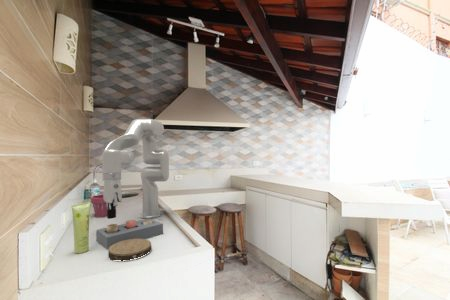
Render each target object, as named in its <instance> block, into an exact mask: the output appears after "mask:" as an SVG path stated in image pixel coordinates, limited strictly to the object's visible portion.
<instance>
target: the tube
mask: <svg viewBox="0 0 450 300" xmlns="http://www.w3.org/2000/svg"><path fill="white" fill-rule="evenodd" d="M71 213H72V224H73V243H74V244H73V245H74V250H73V251H74V253H75V254H83V253H86V252H88V251H89V249H90V247H89V246H90V244H89V241H90V239H89V237H90V235H89V234H90V215H91V214H90V213H91V201H88V202H82V203H78V204H73V205H71Z"/></svg>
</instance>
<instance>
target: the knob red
mask: <svg viewBox="0 0 450 300" xmlns="http://www.w3.org/2000/svg"><path fill="white" fill-rule="evenodd" d="M136 221H137V220H135V219H134V220H133V219H132V220H126V221H125V224H126V229H131V228H135V227H136Z"/></svg>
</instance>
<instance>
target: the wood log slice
mask: <svg viewBox="0 0 450 300" xmlns="http://www.w3.org/2000/svg"><path fill="white" fill-rule="evenodd" d="M107 251H108V252H107V253H108V254H107V255H108V259H109V258H110V259H109V260H110V261H113V260H121V261H123V260H130V259H134V258H138V257H141V256H143V255H145V254H147V253H148V252H150V251H151V252H152V242H151V241H150V240H148V239H129V240H124V241H120V242H117V243H115V244H113V245H112V246H110V247H109V249H107ZM151 252H150V253H151Z"/></svg>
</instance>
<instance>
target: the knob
mask: <svg viewBox="0 0 450 300" xmlns="http://www.w3.org/2000/svg"><path fill="white" fill-rule="evenodd" d="M118 225H119V224H117V223H110V224H107V225H106V228H107V234H110V233H114V232H118Z"/></svg>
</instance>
